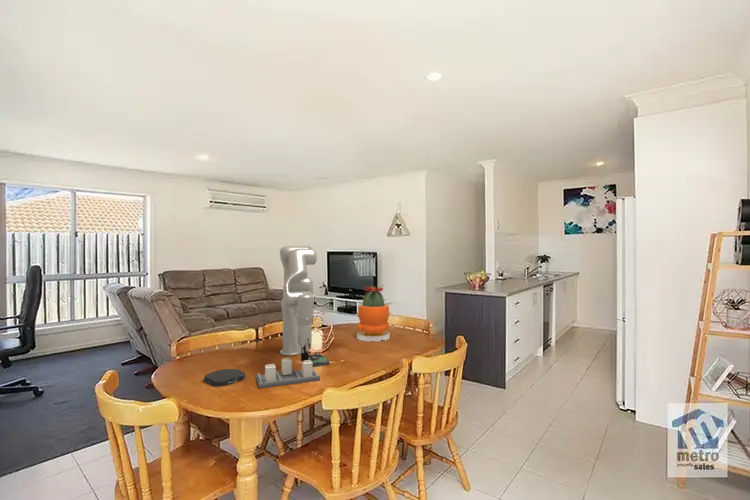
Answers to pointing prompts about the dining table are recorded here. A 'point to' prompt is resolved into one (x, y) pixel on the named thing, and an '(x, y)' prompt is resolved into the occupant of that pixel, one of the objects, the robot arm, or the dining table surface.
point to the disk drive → (318, 360)
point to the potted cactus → (373, 316)
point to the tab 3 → (307, 368)
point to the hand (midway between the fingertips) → (304, 360)
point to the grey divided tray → (286, 379)
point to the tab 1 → (270, 373)
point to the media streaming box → (224, 377)
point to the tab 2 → (286, 366)
